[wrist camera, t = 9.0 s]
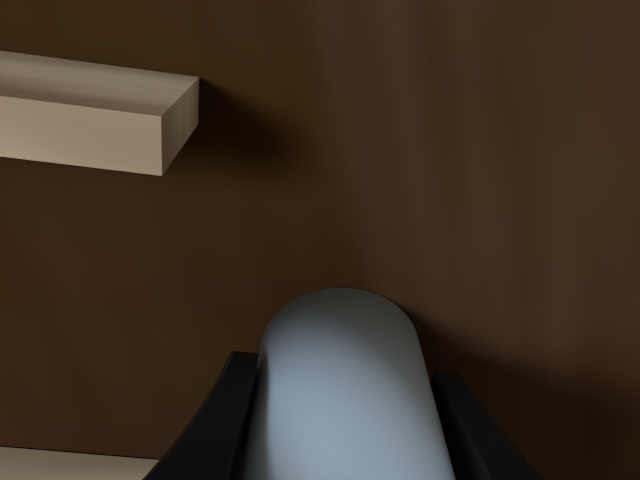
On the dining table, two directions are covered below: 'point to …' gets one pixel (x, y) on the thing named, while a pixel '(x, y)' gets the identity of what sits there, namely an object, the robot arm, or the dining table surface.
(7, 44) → the dining table surface
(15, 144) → the frame
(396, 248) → the dining table surface
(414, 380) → the pale blue cylinder
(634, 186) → the dining table surface
